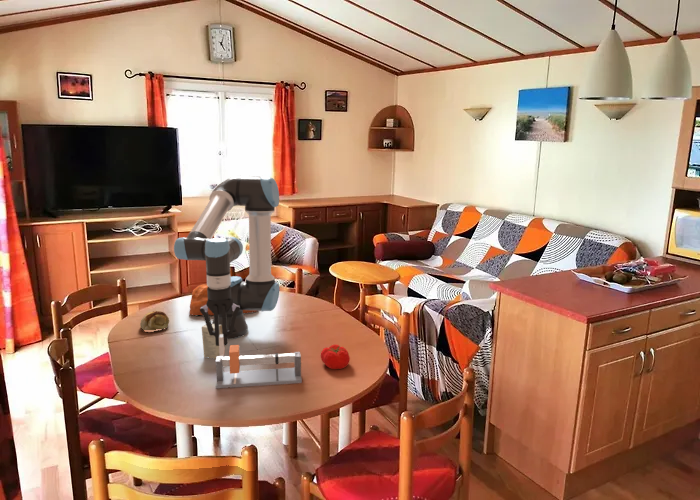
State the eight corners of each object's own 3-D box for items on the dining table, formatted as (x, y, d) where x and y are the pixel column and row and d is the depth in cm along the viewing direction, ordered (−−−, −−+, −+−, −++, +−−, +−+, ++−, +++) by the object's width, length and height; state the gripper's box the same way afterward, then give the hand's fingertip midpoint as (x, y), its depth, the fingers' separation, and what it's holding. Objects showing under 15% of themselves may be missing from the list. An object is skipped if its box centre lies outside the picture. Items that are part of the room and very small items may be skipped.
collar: (230, 373, 179) (229, 352, 177) (231, 365, 185) (230, 345, 183) (239, 373, 179) (238, 351, 178) (239, 365, 185) (239, 344, 184)
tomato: (328, 373, 189) (328, 356, 187) (317, 361, 198) (317, 344, 197) (353, 369, 192) (354, 352, 191) (342, 357, 202) (342, 341, 201)
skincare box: (224, 355, 203) (222, 324, 200) (217, 359, 199) (216, 328, 196) (209, 353, 205) (207, 322, 202) (202, 357, 201) (201, 326, 198)
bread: (191, 306, 258) (190, 280, 255) (258, 303, 264) (257, 277, 261) (188, 317, 243) (187, 289, 240) (259, 313, 249) (258, 286, 246)
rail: (216, 381, 180) (215, 360, 178) (217, 376, 184) (216, 355, 182) (301, 376, 184) (300, 355, 183) (300, 371, 188) (299, 351, 186)
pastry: (153, 335, 222) (152, 317, 220) (132, 330, 228) (130, 312, 226) (179, 325, 234) (177, 307, 232) (158, 320, 240) (157, 302, 238)
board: (216, 388, 177) (216, 385, 177) (218, 374, 187) (218, 371, 187) (301, 382, 182) (301, 379, 181) (299, 369, 191) (299, 367, 191)
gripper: (196, 290, 170) (200, 360, 176) (238, 288, 172) (241, 357, 178) (199, 283, 178) (203, 350, 183) (240, 282, 180) (242, 348, 185)
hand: (222, 354), depth 180 cm, fingers closed
